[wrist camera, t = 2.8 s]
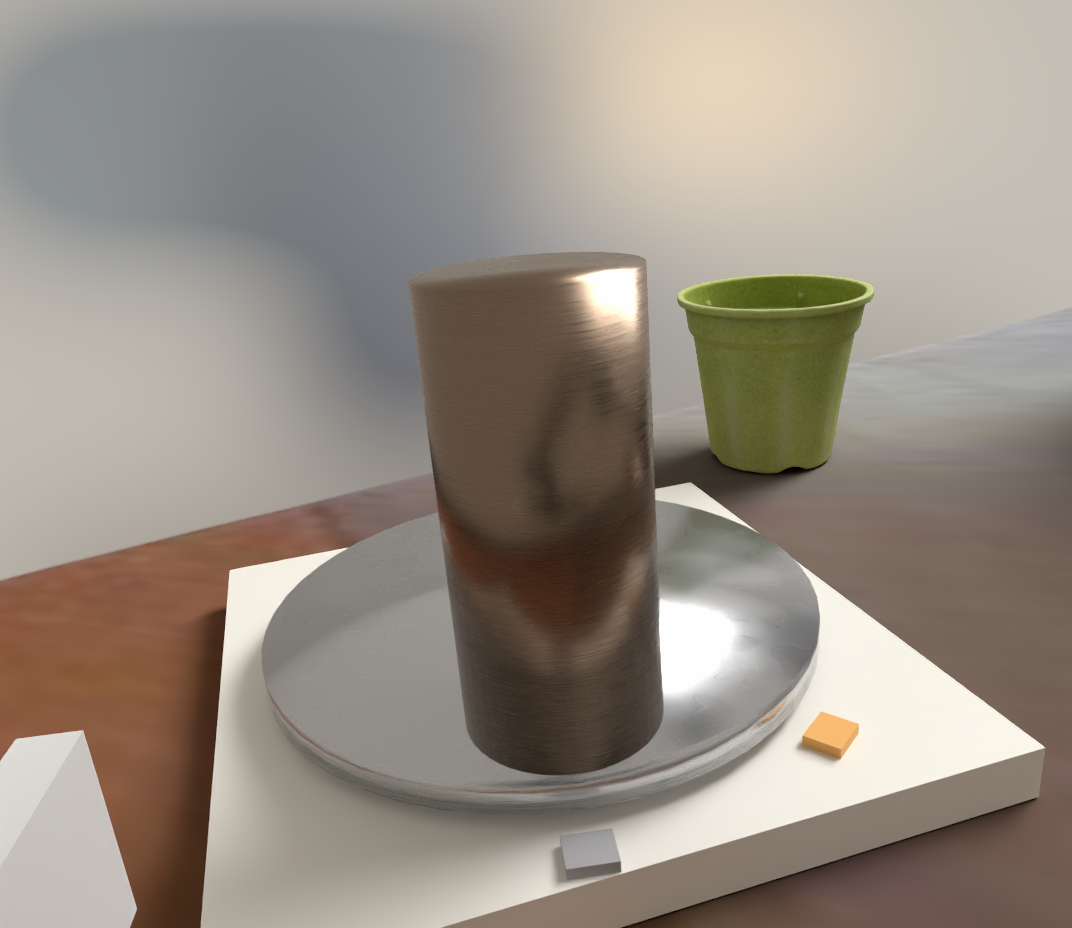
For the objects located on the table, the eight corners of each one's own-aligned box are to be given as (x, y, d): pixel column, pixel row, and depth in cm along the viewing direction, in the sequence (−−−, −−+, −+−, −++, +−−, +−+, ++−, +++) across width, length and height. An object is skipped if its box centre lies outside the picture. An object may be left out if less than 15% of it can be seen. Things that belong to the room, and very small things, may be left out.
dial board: (691, 512, 41) (690, 476, 40) (1038, 797, 22) (1046, 737, 22) (237, 603, 36) (228, 563, 35) (210, 1056, 18) (191, 989, 17)
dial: (307, 545, 36) (250, 240, 32) (719, 496, 37) (715, 196, 33) (206, 863, 20) (65, 333, 16) (935, 758, 21) (979, 242, 17)
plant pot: (887, 437, 48) (896, 274, 45) (833, 500, 41) (840, 312, 38) (724, 420, 53) (722, 273, 50) (650, 473, 46) (643, 305, 43)
